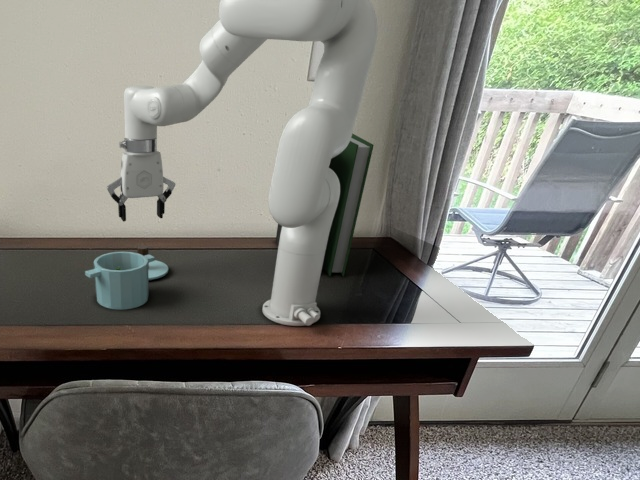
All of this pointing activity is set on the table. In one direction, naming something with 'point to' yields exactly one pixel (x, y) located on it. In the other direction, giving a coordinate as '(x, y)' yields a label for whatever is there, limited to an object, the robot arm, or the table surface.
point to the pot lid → (153, 264)
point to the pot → (121, 279)
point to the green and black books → (345, 202)
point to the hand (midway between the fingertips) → (141, 218)
